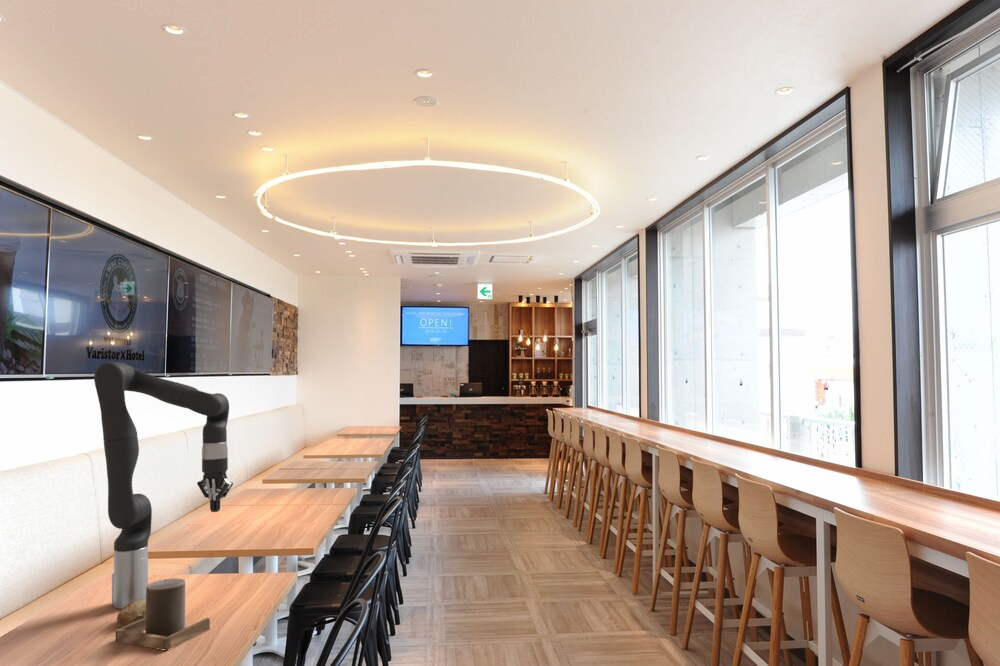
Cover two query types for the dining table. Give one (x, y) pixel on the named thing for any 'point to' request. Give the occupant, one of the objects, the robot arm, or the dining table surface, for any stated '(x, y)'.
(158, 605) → the pillar candle
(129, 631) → the brown wooden u-shaped frame
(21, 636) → the dining table surface
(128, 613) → the bread roll
